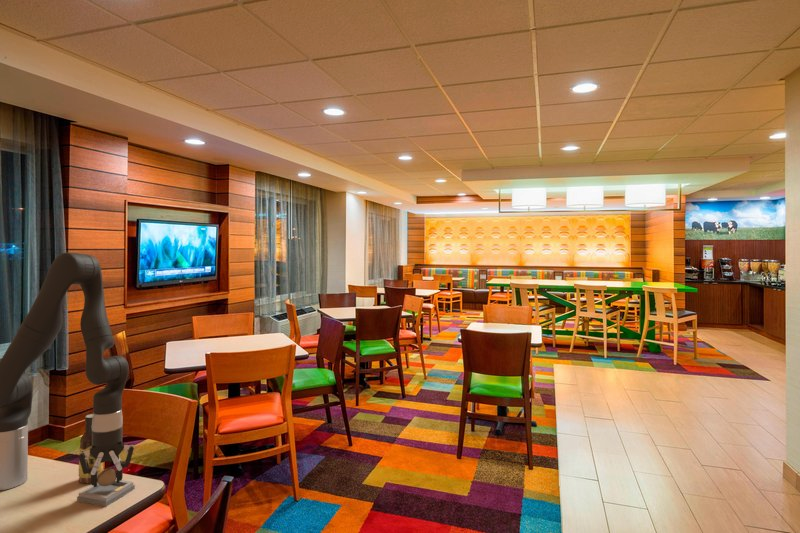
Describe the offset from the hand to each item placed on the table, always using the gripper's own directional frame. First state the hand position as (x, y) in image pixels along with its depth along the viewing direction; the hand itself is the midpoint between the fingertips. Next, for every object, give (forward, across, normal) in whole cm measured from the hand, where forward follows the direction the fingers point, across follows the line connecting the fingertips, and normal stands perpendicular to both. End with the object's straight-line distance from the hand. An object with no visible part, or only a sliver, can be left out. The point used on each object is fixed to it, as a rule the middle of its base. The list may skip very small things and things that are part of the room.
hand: (106, 483), depth 134 cm
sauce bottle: (+3, +5, -12) cm, 14 cm away
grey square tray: (+3, 0, 0) cm, 3 cm away
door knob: (+1, 0, 0) cm, 1 cm away
